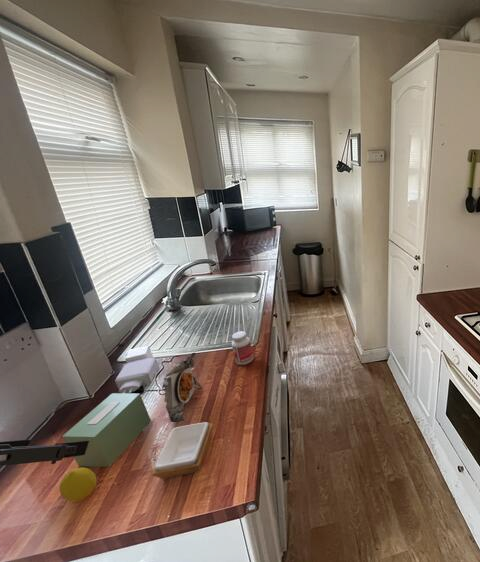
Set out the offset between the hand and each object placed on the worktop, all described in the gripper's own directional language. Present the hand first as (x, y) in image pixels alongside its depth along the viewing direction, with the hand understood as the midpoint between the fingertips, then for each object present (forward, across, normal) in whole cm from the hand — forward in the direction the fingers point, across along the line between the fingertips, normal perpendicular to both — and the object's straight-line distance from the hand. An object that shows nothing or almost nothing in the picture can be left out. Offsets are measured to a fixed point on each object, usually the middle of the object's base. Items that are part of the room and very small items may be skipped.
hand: (55, 447), depth 66 cm
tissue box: (+17, 0, 0) cm, 17 cm away
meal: (+27, +11, +9) cm, 30 cm away
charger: (+32, -12, +15) cm, 38 cm away
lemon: (+7, +4, -10) cm, 13 cm away
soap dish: (+14, +22, -3) cm, 26 cm away
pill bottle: (+42, +19, +24) cm, 52 cm away
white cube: (+39, -18, +22) cm, 49 cm away
